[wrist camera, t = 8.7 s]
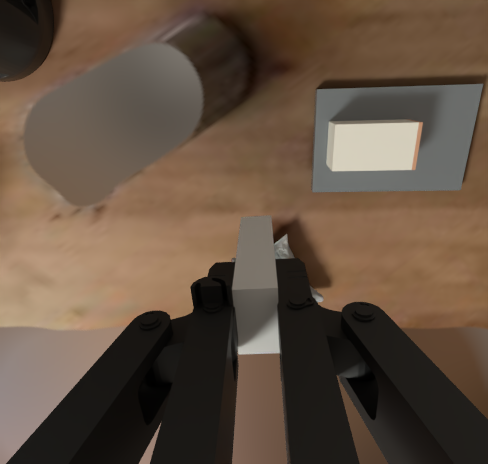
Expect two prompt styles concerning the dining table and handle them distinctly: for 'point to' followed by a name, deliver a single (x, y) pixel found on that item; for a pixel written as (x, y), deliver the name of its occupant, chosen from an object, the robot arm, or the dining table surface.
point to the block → (373, 145)
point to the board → (393, 108)
